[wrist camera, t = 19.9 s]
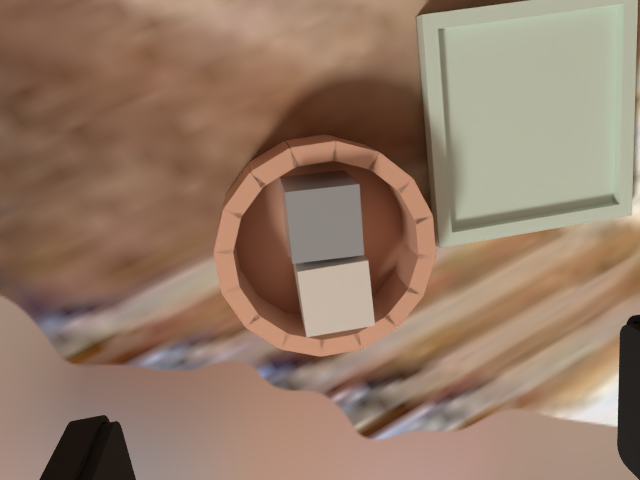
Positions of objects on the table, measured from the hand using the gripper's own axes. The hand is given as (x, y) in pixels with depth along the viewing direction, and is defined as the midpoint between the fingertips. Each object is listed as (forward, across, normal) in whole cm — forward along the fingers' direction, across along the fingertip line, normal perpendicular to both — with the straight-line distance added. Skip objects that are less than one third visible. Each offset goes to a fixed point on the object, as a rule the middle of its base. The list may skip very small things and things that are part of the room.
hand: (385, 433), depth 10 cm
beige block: (+30, -2, +8) cm, 31 cm away
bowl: (+30, -2, +5) cm, 31 cm away
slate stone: (+30, -2, +2) cm, 30 cm away
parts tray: (+30, -18, -1) cm, 35 cm away
